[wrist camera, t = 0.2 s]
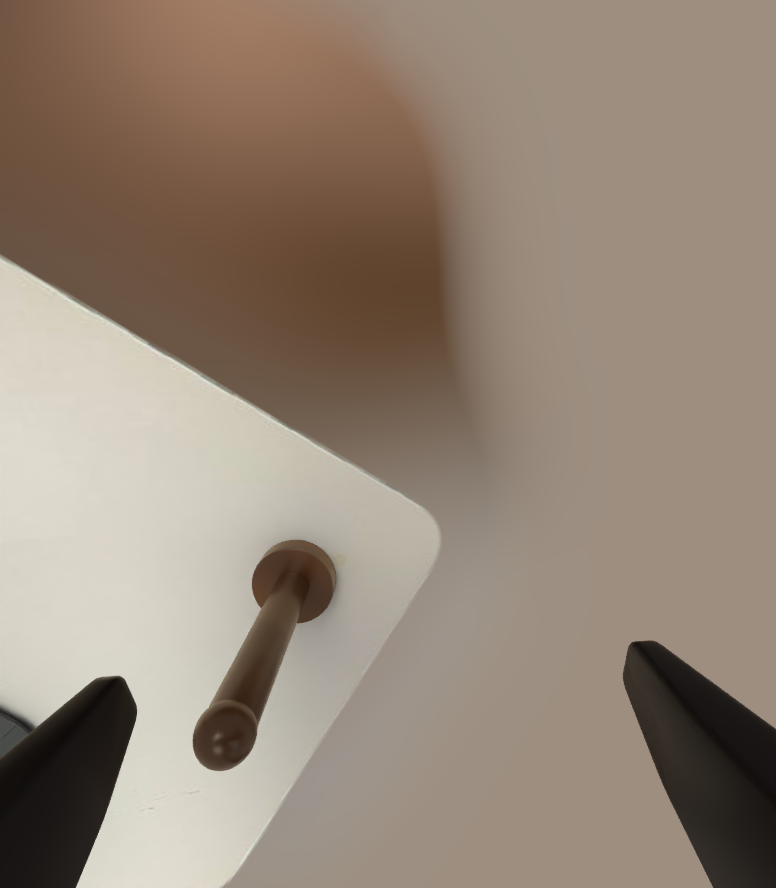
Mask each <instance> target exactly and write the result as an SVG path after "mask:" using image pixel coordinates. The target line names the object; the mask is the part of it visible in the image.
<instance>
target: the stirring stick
mask: <svg viewBox="0 0 776 888" xmlns="http://www.w3.org/2000/svg"><path fill="white" fill-rule="evenodd" d="M335 583H336V573H335V569H334V566H333V563H332V561H331V560H330V558H329V557H328V555H327V554H326V553H325V552H324V551H323V550H322V549H320V548H319V547H318V546H316V545H314V544H312V543H309V542H306V541H300V540H290V541H285V542H281V543H279V544H277V545H275V546H273V547H272V548H271V549H270V550H268V552H267V553H266V554H265V555H264V556H263V558H262V559H261V561H260V562H259V564H258V565H257V567H256V569H255V571H254V574H253V579H252V589H253V594H254V597H255V599H256V601H257V603H258V605H259V606H260V607H261V611H260V613H259V615H258V617H257V618H256V620H255V622H254V624H253V626H252V628H251V630H250V631H249V633H248V635H247V637H246V639H245V641H244V643H243V644H242V646H241V648H240V650H239V652H238V654H237V656H236V658H235V659H234V661H233V663H232V665H231V667H230V669H229V671H228V672H227V674H226V676H225V678H224V680H223V682H222V684H221V685H220V687H219V689H218V691H217V693H216V695H215V697H214V698H213V700H212V702H211V704H210V706H209V708H208V709H207V710H206V711H205V712H204V713H203V714H202V715H201V717H200V718H199V720H198V722H197V724H196V726H195V729H194V733H193V749H194V753H195V756H196V758H197V759H198V761H199V762H200V763H201V764H202V765H203V766H204V767H206V768H208V769H210V770H214V771H225V770H229V769H231V768H233V767H235V766H237V765H238V764H240V763H241V762H242V761H243V760H244V759H245V758H246V757H247V756H248V754H249V753H250V751H251V750H252V748H253V746H254V743H255V740H256V736H257V727H258V724H259V721H260V719H261V716H262V713H263V711H264V708H265V706H266V703H267V700H268V698H269V695H270V692H271V690H272V687H273V684H274V682H275V679H276V676H277V674H278V671H279V668H280V666H281V663H282V660H283V658H284V655H285V652H286V650H287V647H288V644H289V642H290V639H291V637H292V634H293V631H294V629H295V626H296V623H303V622H307V621H310V620H312V619H314V618H316V617H318V616H319V615H320V614H321V613H322V612H323V611H324V610H325V609H326V608H327V607H328V605H329V603H330V601H331V598H332V595H333V591H334V587H335Z"/></svg>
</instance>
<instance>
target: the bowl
mask: <svg viewBox="0 0 776 888" xmlns="http://www.w3.org/2000/svg"><path fill="white" fill-rule="evenodd" d="M29 733H31V731H30V730H29V729H28V728H27V727H25V726H24V725H23V724H21V723H20V722H19V721H17V720H15V719H14V718H12V717H10V716H9V715H6V714H4V713H2V712H0V758H1V757H2V756H3V755H4V754H5V753H7V752H8V751H9V750H10V749H11V748H13V747H14V746H15V745H16V744H17V743H19V742H20V741H21V740H22V739H23V738H25V737H26V736H27V735H28V734H29Z"/></svg>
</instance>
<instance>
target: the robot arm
mask: <svg viewBox="0 0 776 888" xmlns="http://www.w3.org/2000/svg"><path fill="white" fill-rule="evenodd" d="M623 681H624V685H625V689H626V691H627V694H628V697H629V699H630V702H631V704H632V707H633V710H634V712H635V714H636V717H637V720H638V722H639V725H640V727H641V730H642V732H643V735H644V738H645V741H646V743H647V746H648V748H649V751H650V753H651V756H652V759H653V761H654V763H655V766H656V769H657V771H658V774H659V776H660V779H661V781H662V783H663V786H664V788H665V790H666V792H667V794H668V797H669V799H670V801H671V803H672V805H673V807H674V809H675V811H676V813H677V815H678V817H679V819H680V821H681V823H682V825H683V827H684V829H685V831H686V833H687V835H688V837H689V839H690V841H691V843H692V845H693V847H694V850H695V851H696V854H697V856H698V858H699V860H700V862H701V864H702V866H703V868H704V870H705V872H706V874H707V876H708V878H709V880H710V882H711V884H712V886H713V887H714V888H776V729H775V728H774V727H772V726H771V725H770V724H768V723H767V722H766V721H764V720H763V719H761V718H760V717H759V716H757V715H756V714H755V713H753V712H752V711H751V710H749V709H748V708H747V707H745V706H744V705H743V704H741V703H740V702H738V701H737V700H736V699H734V698H733V697H732V696H730V695H729V694H728V693H726V692H725V691H723V690H722V689H721V688H719V687H718V686H717V685H715V684H714V683H713V682H711V681H710V680H709V679H707V678H706V677H704V676H703V675H702V674H700V673H699V672H697V671H696V670H695V669H694V668H692V667H691V666H689V665H688V664H687V663H685V662H684V661H683V660H681V659H680V658H679V657H677V656H676V655H675V654H673V653H672V652H671V651H669V650H668V649H666V648H665V647H664V646H662V645H661V644H659V643H657V642H655V641H636V642H632V643H631V644H630V645H629V647H628V651H627V656H626V661H625V666H624V671H623ZM136 717H137V706H136V703H135V701H134V699H133V696H132V694H131V692H130V690H129V688H128V685H127V683H126V681H125V679H124V678H122V677H121V676H109V677H100V678H97V679H95V680H94V681H92V682H91V683H90V684H88V685H87V686H86V687H85V688H84V689H82V690H81V691H80V692H79V693H78V694H76V695H75V696H74V697H73V698H72V699H70V700H69V701H68V702H67V703H66V704H64V705H63V706H62V707H61V708H59V709H58V710H57V711H56V712H55V713H53V714H52V715H51V716H50V717H49V718H47V719H46V720H45V721H44V722H43V723H41V724H40V725H39V726H38V727H37V728H35V729H34V730H33V731H32V732H31V733H29V734H28V735H27V736H26V737H25V738H23V739H22V740H21V741H20V742H19V743H17V744H16V745H15V746H14V747H13V748H11V749H10V750H9V751H8V752H7V753H5V754H4V755H3V756H2V757H1V758H0V888H76V886H77V883H78V881H79V879H80V876H81V874H82V871H83V869H84V867H85V864H86V862H87V859H88V857H89V855H90V852H91V850H92V847H93V845H94V842H95V840H96V838H97V835H98V833H99V830H100V828H101V825H102V822H103V820H104V817H105V814H106V811H107V808H108V806H109V803H110V800H111V796H112V793H113V790H114V787H115V784H116V781H117V778H118V775H119V771H120V768H121V765H122V762H123V759H124V756H125V753H126V750H127V746H128V743H129V740H130V737H131V734H132V731H133V728H134V725H135V721H136Z"/></svg>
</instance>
